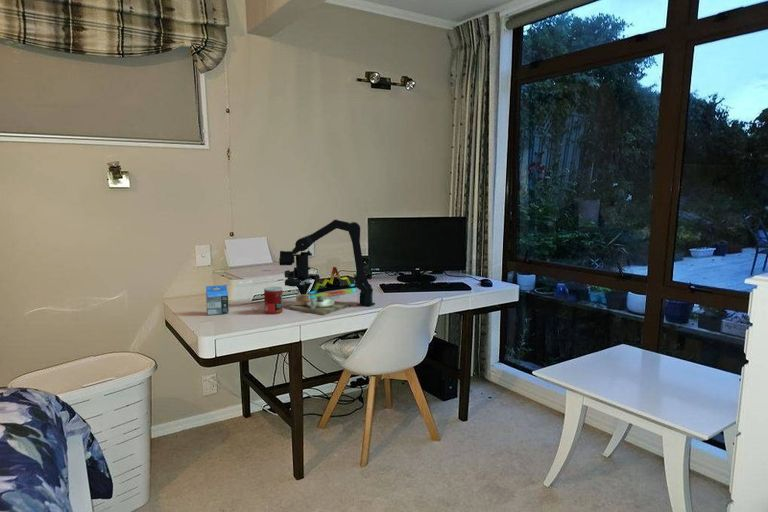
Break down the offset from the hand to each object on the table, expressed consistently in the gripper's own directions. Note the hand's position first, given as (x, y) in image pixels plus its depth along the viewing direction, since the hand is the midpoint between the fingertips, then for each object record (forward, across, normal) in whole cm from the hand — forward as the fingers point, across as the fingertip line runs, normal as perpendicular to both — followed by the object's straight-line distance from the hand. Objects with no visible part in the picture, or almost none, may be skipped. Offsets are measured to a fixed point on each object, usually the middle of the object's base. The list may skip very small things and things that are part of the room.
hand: (303, 297), depth 226 cm
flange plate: (+2, -1, +7) cm, 7 cm away
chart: (+4, -25, -2) cm, 25 cm away
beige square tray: (+4, -2, +9) cm, 10 cm away
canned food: (+4, +16, -3) cm, 17 cm away
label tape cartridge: (+4, +31, -22) cm, 38 cm away
